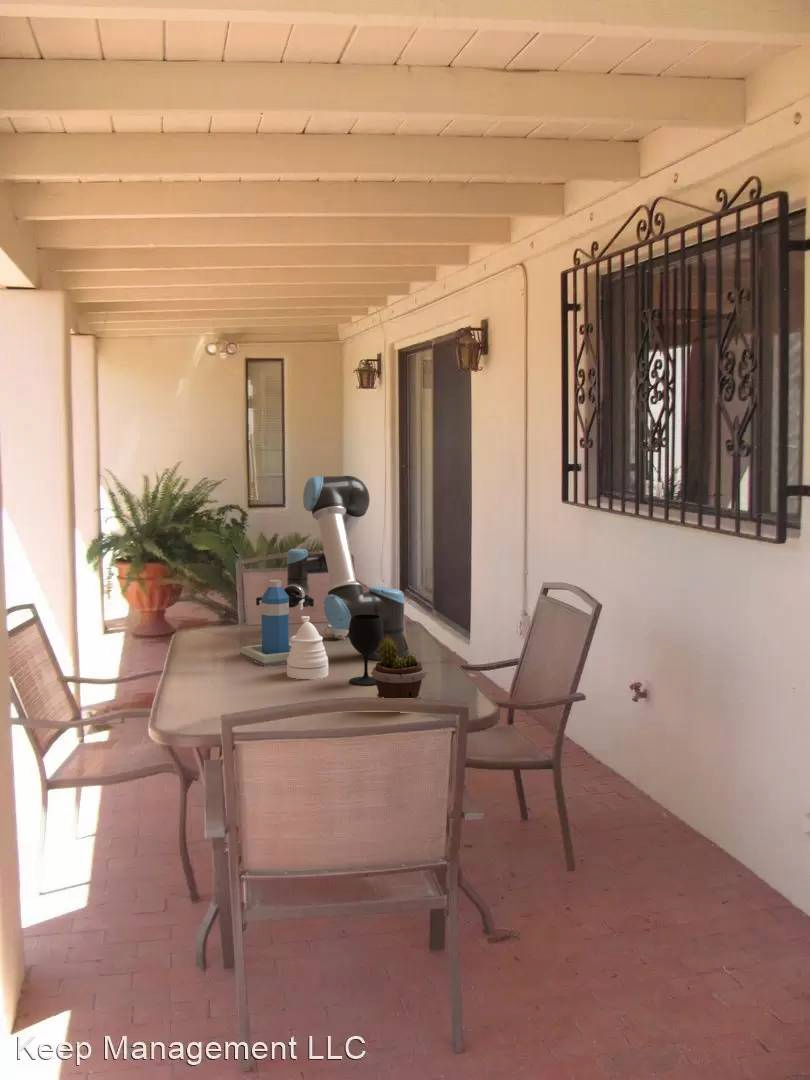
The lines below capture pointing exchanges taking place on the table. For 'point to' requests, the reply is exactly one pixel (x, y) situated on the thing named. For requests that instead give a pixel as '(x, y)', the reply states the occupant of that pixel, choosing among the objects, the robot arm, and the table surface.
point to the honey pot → (307, 653)
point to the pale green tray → (264, 655)
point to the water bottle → (275, 619)
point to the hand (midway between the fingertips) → (280, 605)
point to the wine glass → (365, 642)
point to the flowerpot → (397, 673)
